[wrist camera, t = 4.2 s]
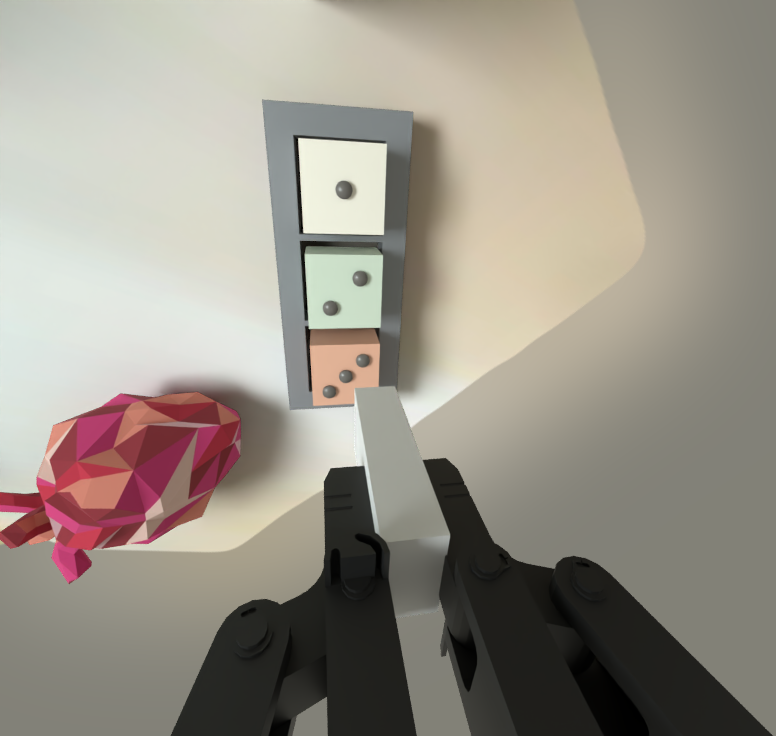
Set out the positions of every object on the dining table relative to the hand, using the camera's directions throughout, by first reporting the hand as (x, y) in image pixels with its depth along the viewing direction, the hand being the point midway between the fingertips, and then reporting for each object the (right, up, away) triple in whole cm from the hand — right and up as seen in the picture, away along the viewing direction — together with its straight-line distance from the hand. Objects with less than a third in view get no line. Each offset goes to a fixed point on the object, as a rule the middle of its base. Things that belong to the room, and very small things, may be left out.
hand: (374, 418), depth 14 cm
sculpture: (-24, -5, +26) cm, 36 cm away
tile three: (-4, +3, +23) cm, 23 cm away
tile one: (-3, +16, +16) cm, 23 cm away
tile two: (-4, +10, +19) cm, 22 cm away
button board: (-4, +11, +21) cm, 24 cm away
